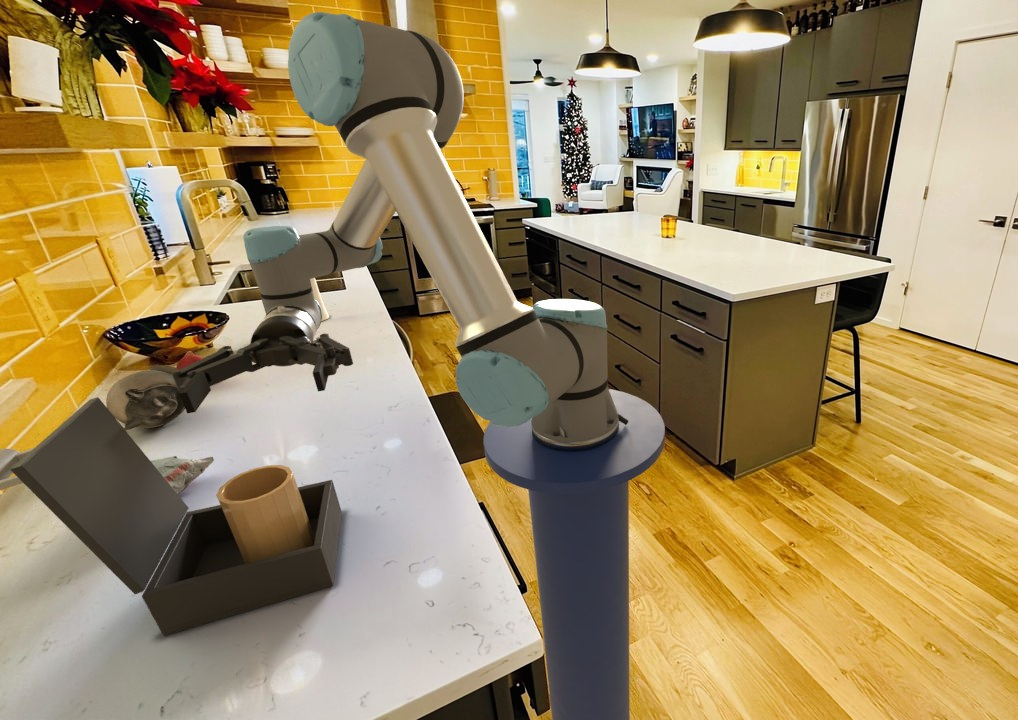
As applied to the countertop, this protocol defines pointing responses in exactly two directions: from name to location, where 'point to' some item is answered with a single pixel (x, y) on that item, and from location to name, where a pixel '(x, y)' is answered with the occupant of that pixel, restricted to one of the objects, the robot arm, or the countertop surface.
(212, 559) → the grey lidded box
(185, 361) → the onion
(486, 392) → the robot arm
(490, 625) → the countertop surface
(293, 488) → the cup
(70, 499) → the lid
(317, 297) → the cosmetic bottle
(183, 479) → the packaged food
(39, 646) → the countertop surface
